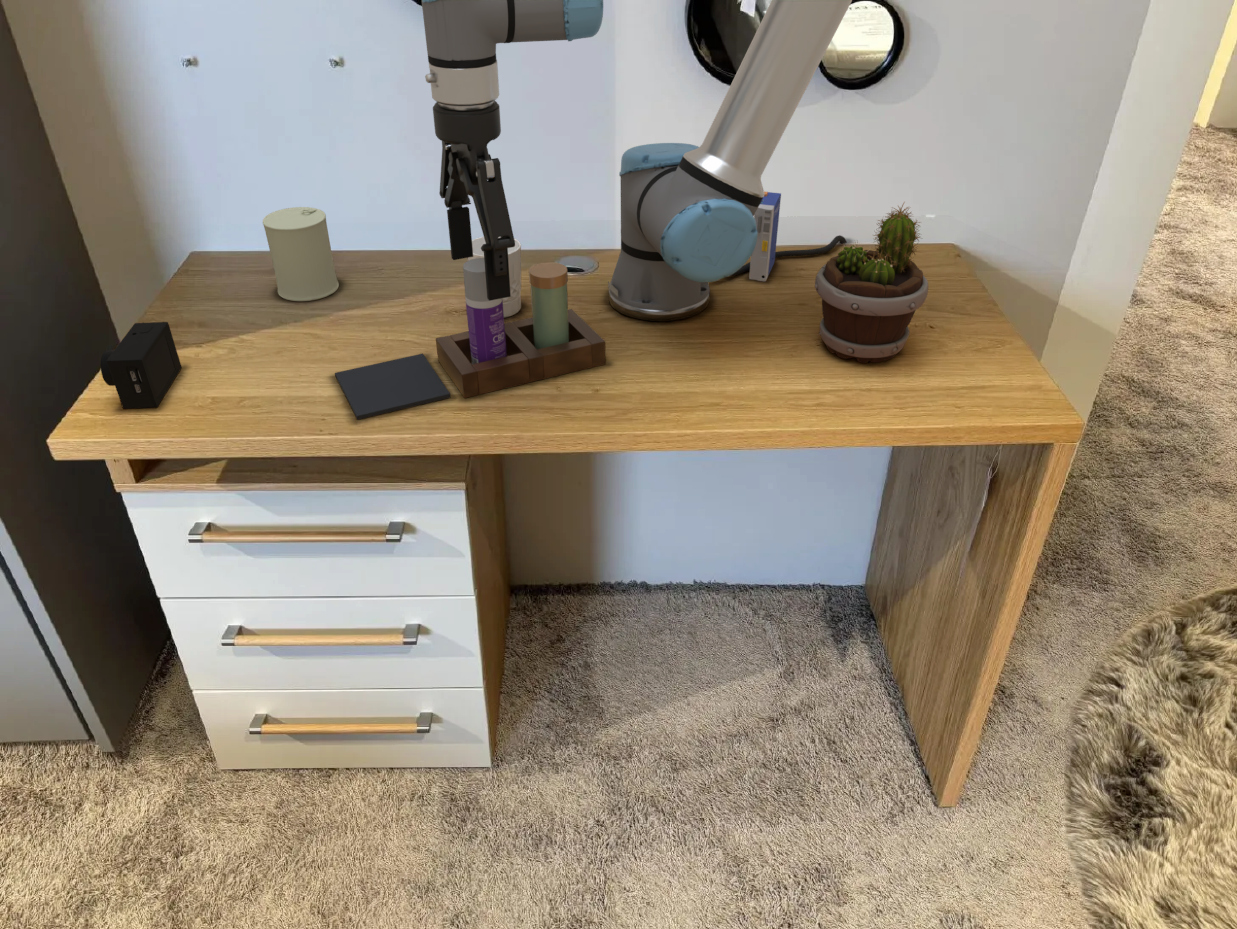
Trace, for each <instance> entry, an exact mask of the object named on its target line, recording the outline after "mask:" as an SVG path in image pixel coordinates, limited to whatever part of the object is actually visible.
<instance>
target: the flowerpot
mask: <svg viewBox="0 0 1237 929" xmlns="http://www.w3.org/2000/svg"><path fill="white" fill-rule="evenodd" d="M905 203H906V201H904V202H903V203H902V204H901V206H899V205H897V207H898V209H897V208H895V207H893V206H892V207H891V206H890V208H891V209H894V210H891V211H890V212H888V213H885V214H886V215H887V216H886V215H884V218H881V219H877V220H876V221H877V223H876V222H875V223H876V226H878V228H876V229H874V233H875V234H873V236H874V238H872V239H873V240H874V241H873V242H872V243H873V244H874V243H875V242H876V243H877V244H874V246H875V247H873V249H870V248H871V247H869V249H864V246H858V244H860V242H858V241H854V244H851V243H849V245H850V247H849V246H846V245H845V243H842V244H843V248H842V250H839V252H838V253H837V254H838V255H835V256H833V257H831V258H830V259H829V260H827V261H826V263H825V264H823V265H822V267H821V268H819V270H818V271H817V274H816V275H815V279H814V280H815V281H814V289H815V292H816V293H817V295H818V296H819V297H820V298H821V308H822V309H821V311H822V318H821V320H820V323H819V332H818V335H819V337H821V339H822V341H823V343H824V344H825V346H826V349H828V351H829V352H830V353H832V354H835V355H836V356H837V357H839V358H840V359H852V358H855V360H856V361H857V362H858V363H861V364H863V363H864V364H865V363H869V362H871V363H881V362H882V363H883V362H884V361H888V360H892V359H893V358H894V357H895V356H896V355H897V354H898V353H899V352H900V351H901V350H903V348H904V347H905V345H906V343H907V341H908V339H909V336H910V328H909V327H908V326H909V325H910V324H911V321H912V319H913V318H914V315H915V313H916V310H918V309H920V308H921V307H922V306H923V305H924V304H925V302H926V300H927V297H928V293H929V281H928V279H927V278H926V277H925V275H924V272H923V270H922V269H920V268H919V267H918V266H917V264H916V263H915V262H914V259H913V258H914V256H916V255H917V254H916V253H918V251H920V250H919V249H918V248H919V247H920V246H917V245H918V244H919V242H917V241H919V239H921V238H922V234H921V233H920V230H921V229H919V228H921V225H920V223H921V221H918V220H917V219H915V220H913V219H912V217H913V216H914V214H913V213H912V211H913V210H912V211H910V212H909V209H911V208H912V207H910V206H906V207H905V208H904V209H903V207H904V204H905ZM902 209H903V210H902ZM918 227H919V228H918ZM875 230H876V231H875ZM920 235H921V236H920ZM913 255H914V256H913Z"/></svg>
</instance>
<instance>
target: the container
mask: <svg viewBox="0 0 1237 929" xmlns="http://www.w3.org/2000/svg"><path fill="white" fill-rule="evenodd" d="M462 270H463V272H462V273H463V286H464V296H465V297H464V299H465V310H466V319H467V329H468V330H467V331H469V340H470V349H471V359H472V361H471V364H476V363H480V362H485V361H489V360H493V359H498V358H502V357H506V356H508V355H507V352H506V339H505V326H504V323H505V317H504V313H503V301H502V298H501V299H496V300H491V301H489V300H488V299H487V288H486V275H485V262H484V258H476V259H472V260H469V261H468V260H467V261H465V262H464V263H463V265H462Z"/></svg>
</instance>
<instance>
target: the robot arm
mask: <svg viewBox="0 0 1237 929" xmlns="http://www.w3.org/2000/svg"><path fill="white" fill-rule="evenodd" d="M852 1H853V0H770V2H769V5H768V7H767V9H766V10H765V11H766V12H765V14H764V15H763V17H762V19H761V21H760V24H759V26H758V28H757V30H756V32H755V34H754V36H753V38H752V39H751V42H750V44H749V45H748V48H747V51H746V52H745V54H744V57H743V59H742V60H741V63H740V65H739V67H738V69H737V71H736V74H735V75H734V78H733V79H732V82H731V84H730V85H729V87H728V90H727V92H726V94H725V96H724V98H723V100H722V102H721V104H720V106H719V108H718V110H717V113H716V114H715V117H714V119H713V121H712V123H711V125H710V128H709V129H708V131H707V133H706V135H705V137H704V139H703V142H702V144H700V146H699V145H695V144H690V143H682V142H659V143H657V142H656V143H647V144H641V145H636V146H633V147H630V148H628V149H626V150H625V151H624V152H623V154H622V155H621V163H620V171H619V175H618V176H619V177H620V252H619V256H618V258H617V261H616V264H615V267H614V270H613V273H612V276H611V280H610V281H607V288H608V301H609V304H610V306H611V307H612V308H613V309H614V310H616V312H619V313H620V314H622V315H625V316H627V317H630V318H634V319H637V320H642V321H643V320H644V321H651V322H669V321H671V322H672V321H679V320H683V319H687V318H690V317H694V316H696V315H698V314H700V313H702V312H703V311H704V310H705V309H706V308H707V307H708V306H709V303H710V293H711V292H710V291H711V288H710V284H709V283H714V282H718V281H720V280H722V279H725V278H729V277H734V276H738V275H741V274H743V273H746V272H748V271H750V261H749V262H748V260H750V259H751V255H752V253H753V251H754V249H755V246H756V242H757V235H758V232H757V229H756V221H755V218H754V214H755V212H756V211H757V209H758V207H759V205H760V203H761V201H762V199H763V197H764V192H765V190H764V186H763V183H762V175H763V173H764V172H765V170H766V168H767V166H768V164H769V162H770V160H771V158H772V156H773V154H774V152H775V151H776V149H777V146H778V145H779V143H780V140H781V138H782V137H783V135H784V133H785V131H786V129H787V127H788V126H789V123H790V121H791V120H792V118H793V116H794V114H795V112H796V109H797V108H798V106H799V104H800V102H801V100H802V98H803V96H804V94H805V92H806V90H807V88H808V87H809V85H810V83H811V80H812V79H813V77H814V75H815V73H816V72H817V69H818V67H819V66H820V63H821V61H822V60H823V58H824V56H825V54H826V52H827V50H828V49H829V46H830V44H831V43H832V40H833V38H834V37H835V34H836V32H837V31H838V29H839V27H840V25H841V23H842V21H843V19H844V17H845V15H846V13H847V11H848V9H849V7H850V6H851V4H852ZM421 9H422V16H423V27H424V35H425V43H426V45H425V46H426V52H427V61H428V62H427V63H428V69H429V73H427V74H425V76H424V78H425V82H426V83H427V84H430V90H431V91H430V92H431V97H432V98H431V99H433V101H435V103H434V105H433V106H432V115H433V125H434V134H435V136H436V138H437V139H438V140H439V141H441V163H440V178H439V196H440V198H441V199H444V200H443V201H444V206H445V207H446V214H447V225H448V236H449V244H450V245H449V246H450V255H451V257H450V258H451V260H453V261H457V260H462V259H467V258H468V257H473V248H472V240H473V238H472V226H471V225H472V224H471V212H470V208H469V206H467V205H471V204H472V202H471V199H470V197H471V198H472V200H473V204H474V207H475V210H476V211H475V212H476V214H477V217H478V222H479V225H480V228H481V232H482V235H483V237H484V239H485V242H486V244H483V245H482V247H481V250H482V251H484V262H485V275H486V288H487V299H488V300H489V301H491V300H496V299H501V298H506V297H511V295H510V279H509V263H508V248H511V247H514V246H515V240H514V239H515V236H514V232H513V226H512V223H511V217H510V212H509V207H508V204H507V199H506V195H505V194H506V193H505V188H504V184H503V179H502V170H501V161H500V159H499V158H498V157H495V158H492V155H491V154H490V153H489V149H488V144H489V143H490V142H491V141H495V140H496V139H498V138H499V137H500V136H501V132H502V127H501V124H502V123H501V111H500V110H501V109H500V104H499V103H498V101H497V99H499V96H500V83H499V69H498V59H497V45H498V44H511V43H528V42H530V43H531V42H552V41H553V42H554V41H567V42H572V41H574V40H580V39H588V38H593V37H595V36H596V35H597V34H598V33H599V31H600V29H601V26H602V22H603V19H604V0H421ZM469 196H470V197H469ZM498 237H501V238H498ZM847 242H848V241H847V240H846V238H845V237H844V236H843V235H836V236H834V238H833V239H832V240H831V241H830V242H829V243H828V244H827V245H825V246H821V247H818V248H809V249H808V248H807V249H792V250H790V249H789V250H780V251H779V250H778V251H776V252H775V259H777V258H778V259H779V258H786V257H787V258H789V257H806V256H815V255H816V256H817V255H822V254H825V253H828V252H831V251H832V250H833V249H834V248H835V247H836V245H837V244H838V243H840V244H848V243H847Z"/></svg>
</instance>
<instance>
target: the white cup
mask: <svg viewBox="0 0 1237 929" xmlns="http://www.w3.org/2000/svg"><path fill="white" fill-rule="evenodd" d="M498 238H501V237H498ZM514 240H515V246H514V247H511V248H508V263H509V279H510V295H511V297H506V298H502V301H503V313H504V318H509V317H512V316H514V315H516V314H518V313H519V311H520V310H521V309H522V295H521V291H522V244H521V242H520V241H519V240H518V239H516V238H514ZM483 244H486V242H485V239H484V236H480V237H477V238H474V239H472V248H473V257H468V258H466V259H467V261H469V260H472V259H476V258H484V251H482V250H481V247H482V245H483Z"/></svg>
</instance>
